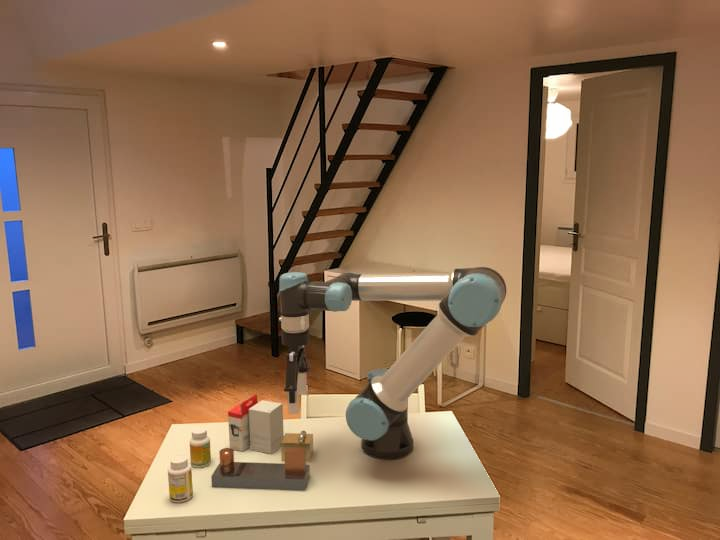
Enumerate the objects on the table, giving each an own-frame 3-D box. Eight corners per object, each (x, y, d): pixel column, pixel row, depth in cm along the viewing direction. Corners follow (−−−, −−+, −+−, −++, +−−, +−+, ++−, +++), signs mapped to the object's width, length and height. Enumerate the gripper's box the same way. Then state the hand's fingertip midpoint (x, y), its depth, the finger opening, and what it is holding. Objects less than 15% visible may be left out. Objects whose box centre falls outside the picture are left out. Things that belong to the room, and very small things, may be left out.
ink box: (246, 436, 178) (244, 390, 176) (259, 439, 176) (258, 393, 173) (228, 448, 170) (226, 401, 168) (243, 452, 168) (241, 403, 166)
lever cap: (313, 451, 169) (312, 429, 168) (310, 462, 163) (309, 438, 162) (285, 451, 169) (285, 428, 168) (281, 461, 163) (280, 438, 162)
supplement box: (284, 443, 173) (283, 403, 171) (270, 454, 167) (269, 412, 165) (263, 439, 177) (262, 399, 174) (249, 449, 170) (247, 408, 168)
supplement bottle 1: (184, 488, 149) (182, 451, 147) (197, 496, 146) (195, 458, 144) (165, 498, 145) (162, 459, 143) (177, 506, 141) (175, 466, 140)
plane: (309, 475, 156) (309, 443, 154) (304, 490, 148) (304, 457, 147) (221, 471, 157) (219, 440, 156) (211, 487, 150) (210, 454, 148)
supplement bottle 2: (205, 469, 159) (203, 435, 157) (187, 467, 160) (185, 433, 158) (214, 459, 164) (212, 426, 162) (196, 457, 165) (194, 425, 164)
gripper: (290, 318, 172) (293, 387, 176) (271, 342, 148) (275, 422, 151) (315, 318, 172) (318, 387, 175) (300, 342, 147) (303, 422, 151)
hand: (298, 403), depth 163 cm, fingers open, 13 cm apart
